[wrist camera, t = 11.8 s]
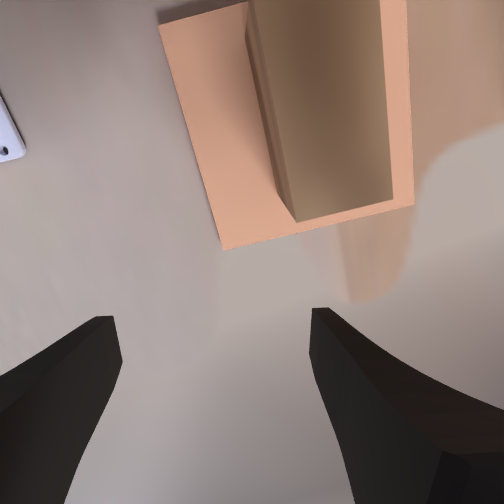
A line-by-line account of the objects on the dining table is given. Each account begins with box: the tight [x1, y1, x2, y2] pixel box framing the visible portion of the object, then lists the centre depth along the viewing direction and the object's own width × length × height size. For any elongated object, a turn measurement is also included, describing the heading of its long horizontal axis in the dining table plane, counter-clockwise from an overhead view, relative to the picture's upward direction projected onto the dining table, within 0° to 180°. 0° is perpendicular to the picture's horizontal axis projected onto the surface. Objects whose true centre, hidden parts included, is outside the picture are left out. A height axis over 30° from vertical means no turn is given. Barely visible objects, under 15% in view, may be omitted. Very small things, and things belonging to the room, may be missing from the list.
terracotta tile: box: [158, 0, 415, 250], centre depth 17 cm, size 12×12×1 cm
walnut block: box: [245, 0, 393, 223], centre depth 14 cm, size 4×8×6 cm, turn 14°
